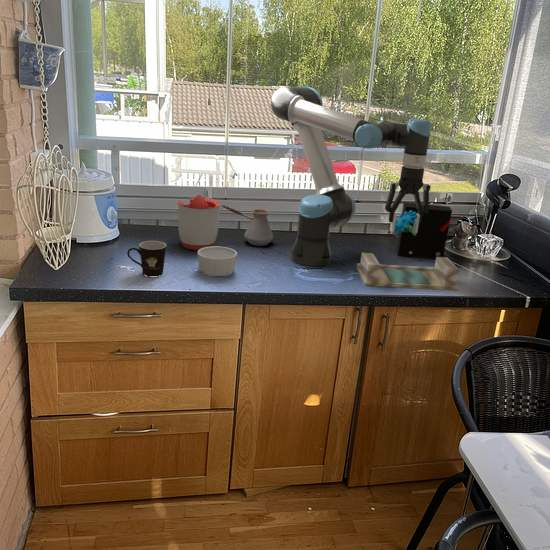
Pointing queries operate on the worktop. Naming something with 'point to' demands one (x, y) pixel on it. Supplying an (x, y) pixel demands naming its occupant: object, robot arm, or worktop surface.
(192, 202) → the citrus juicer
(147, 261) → the coffee mug
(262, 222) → the coffee pot
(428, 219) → the electrical component
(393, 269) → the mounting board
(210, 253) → the ramekin
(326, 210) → the robot arm
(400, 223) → the gear
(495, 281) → the worktop surface
